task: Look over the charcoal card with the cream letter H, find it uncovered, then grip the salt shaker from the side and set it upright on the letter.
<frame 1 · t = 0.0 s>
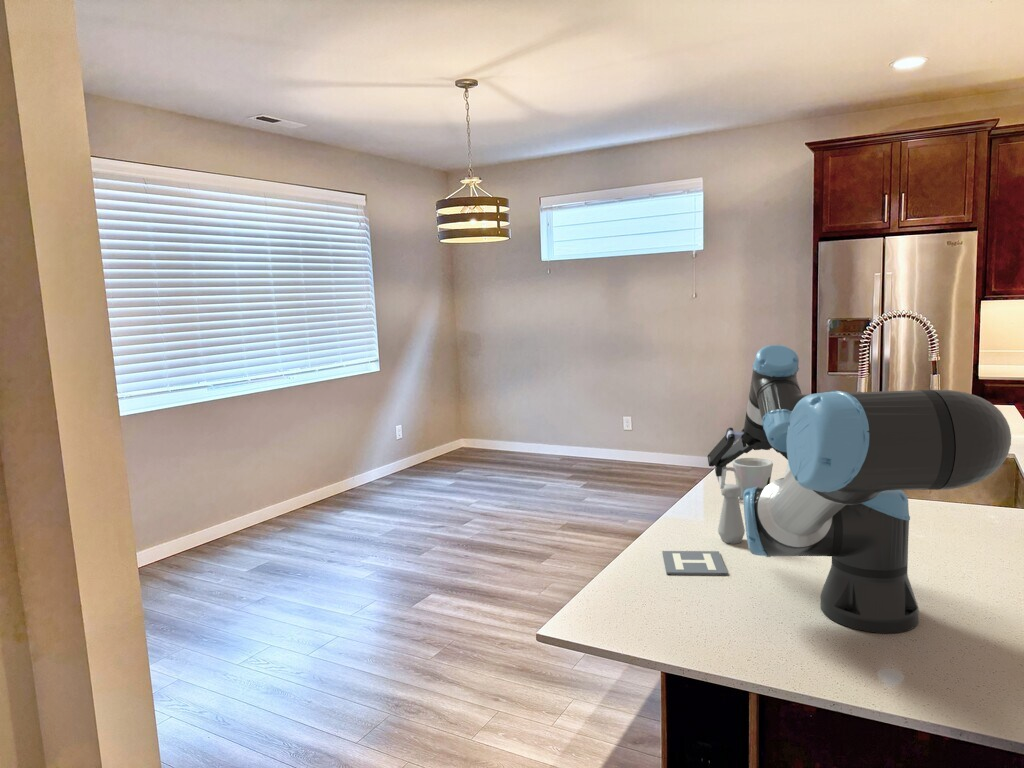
hand: (754, 483, 149), 15 cm above the counter, tool tilted 35°, fingers open, 13 cm apart
salt shaker: (731, 541, 158), on the counter
mug: (744, 498, 191), on the counter
letter card: (693, 563, 146), on the counter
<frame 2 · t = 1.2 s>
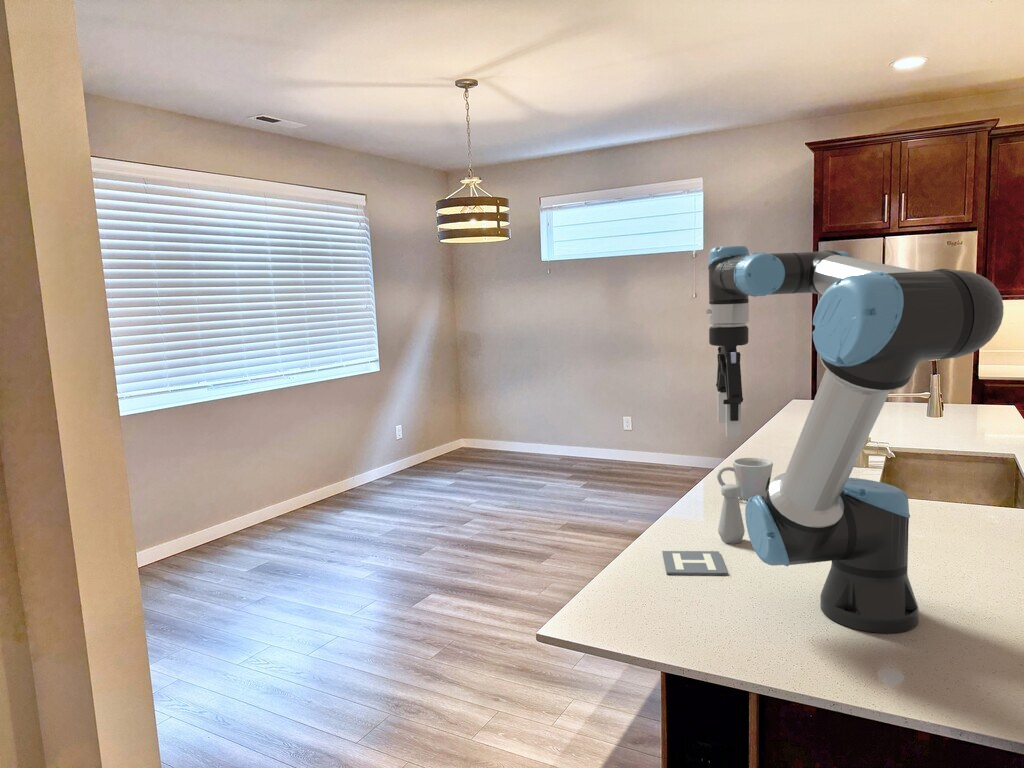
hand: (728, 429, 141), 29 cm above the counter, tool pointing down, fingers open, 13 cm apart
nothing on the counter moved.
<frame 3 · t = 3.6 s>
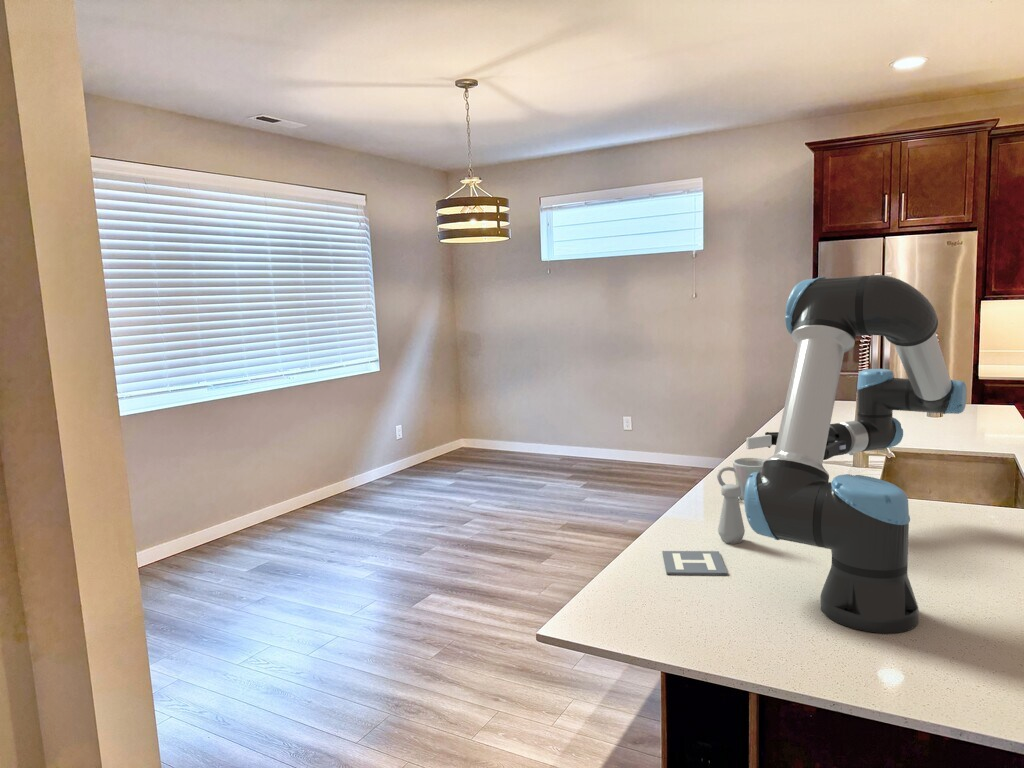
hand: (765, 449, 158), 20 cm above the counter, tool horizontal, fingers open, 13 cm apart
nothing on the counter moved.
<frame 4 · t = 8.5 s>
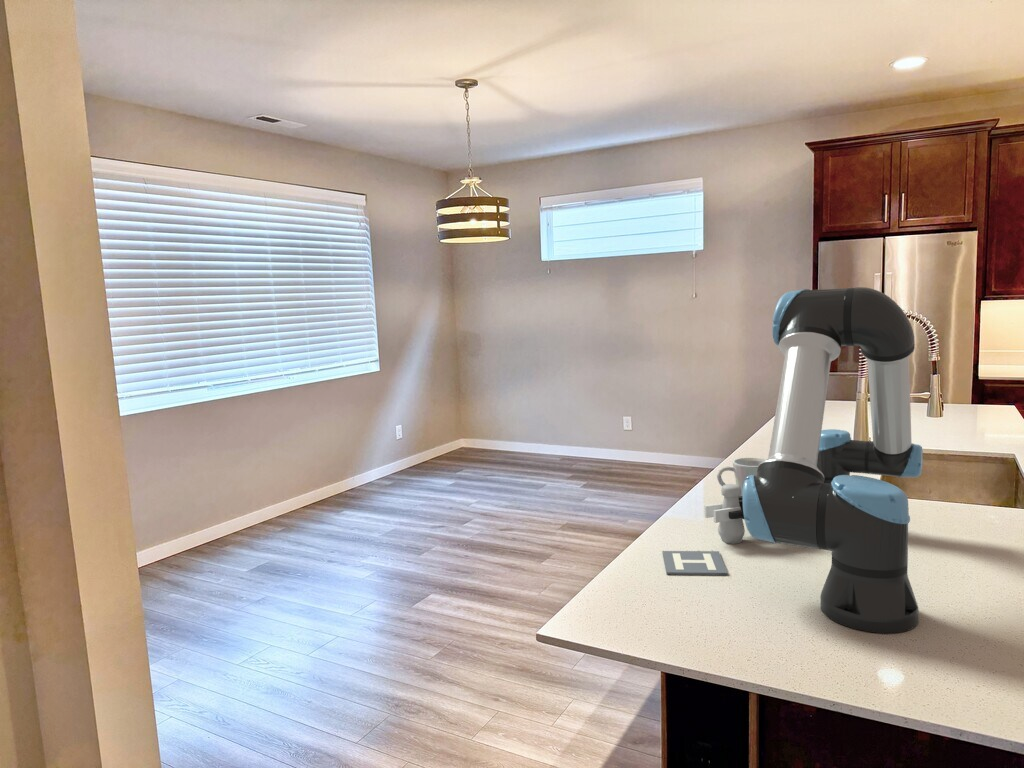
hand: (710, 514, 156), 7 cm above the counter, tool horizontal, fingers closed on salt shaker, 3 cm apart
salt shaker: (731, 541, 158), on the counter, touching gripper
everything else where it was.
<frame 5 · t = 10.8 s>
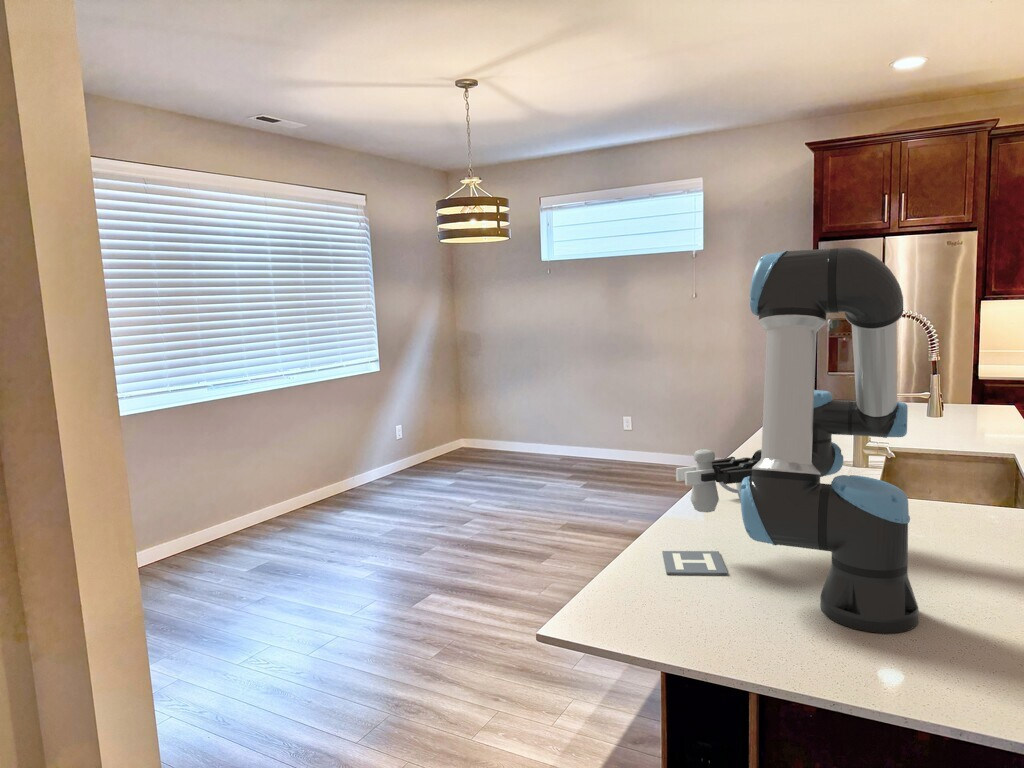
hand: (681, 476, 147), 18 cm above the counter, tool horizontal, fingers closed on salt shaker, 3 cm apart
salt shaker: (704, 510, 149), point 10 cm above the counter, touching gripper
everything else where it was.
when the fingers open (9 cm above the counter, at t = 13.6 s): salt shaker stays where it is, resting on letter card.
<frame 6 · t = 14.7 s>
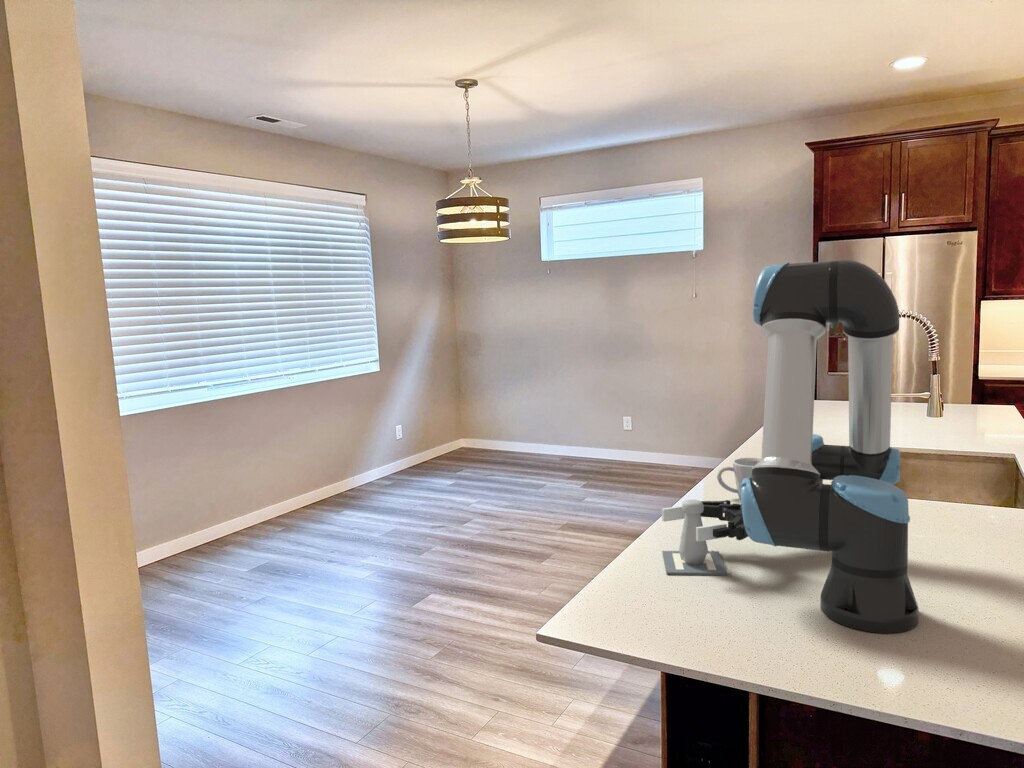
hand: (678, 524, 144), 9 cm above the counter, tool horizontal, fingers open, 13 cm apart
salt shaker: (693, 561, 146), resting on letter card
everything else where it was.
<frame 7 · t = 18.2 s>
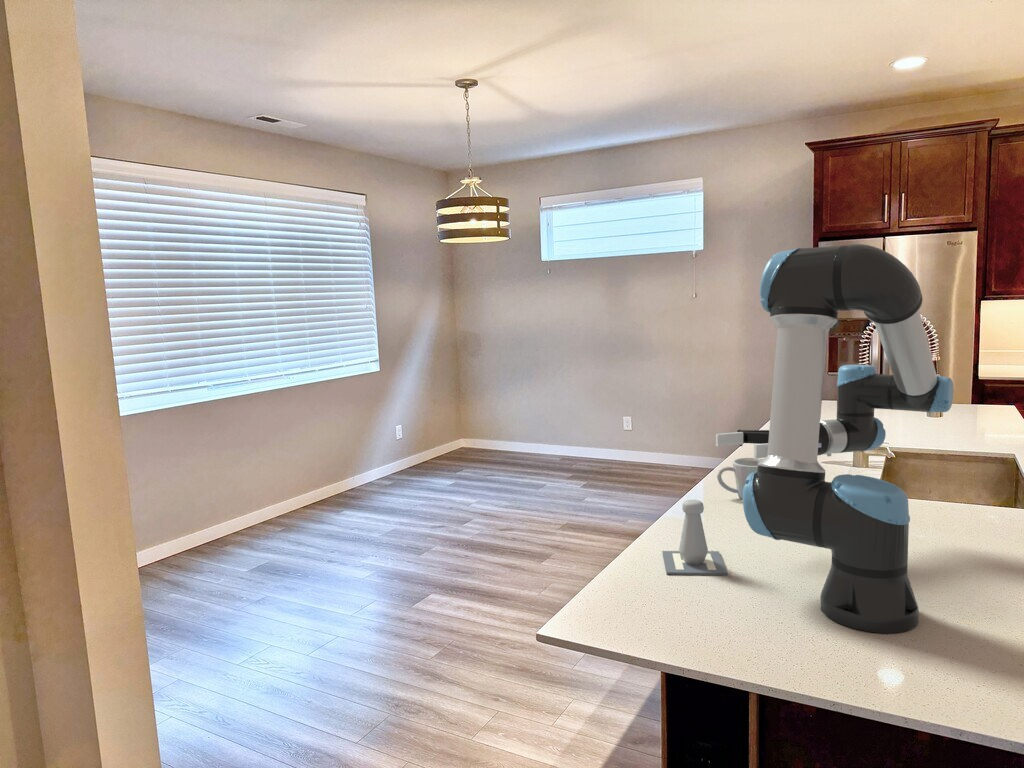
hand: (735, 445, 147), 24 cm above the counter, tool horizontal, fingers open, 13 cm apart
nothing on the counter moved.
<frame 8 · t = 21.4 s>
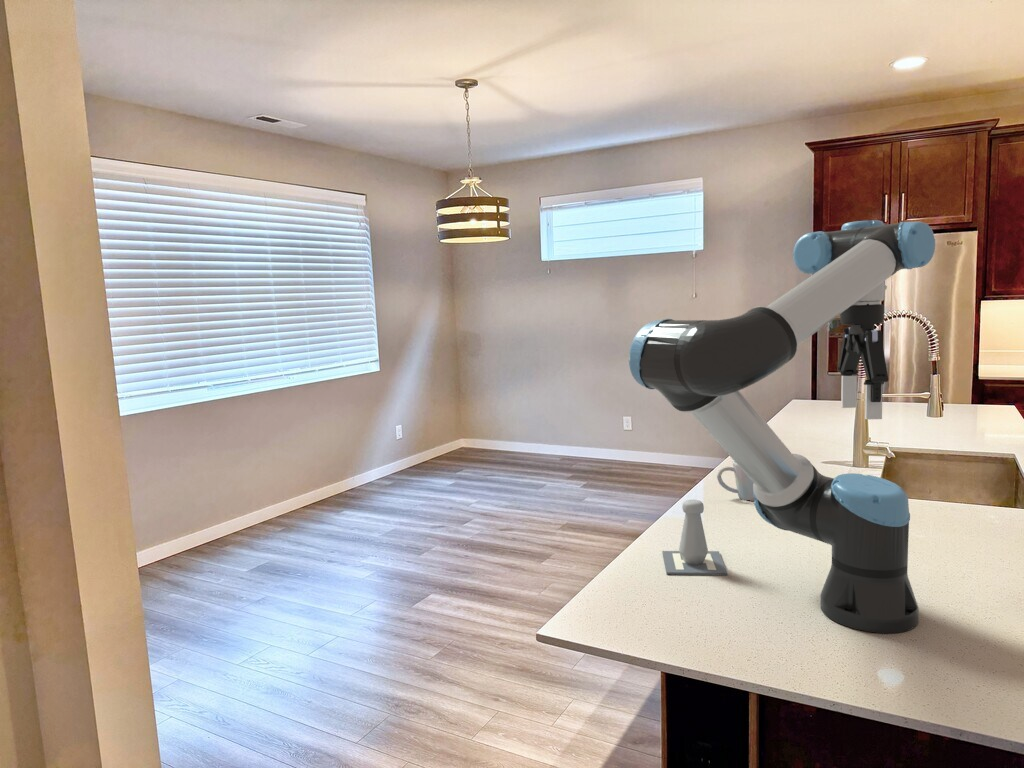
hand: (860, 413, 136), 32 cm above the counter, tool pointing down, fingers open, 13 cm apart
nothing on the counter moved.
at the end: salt shaker 0.1 cm off-centre on the letter card, point 0.3 cm above the letter card's base; salt shaker tilted 0°; the gripper is holding nothing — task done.
